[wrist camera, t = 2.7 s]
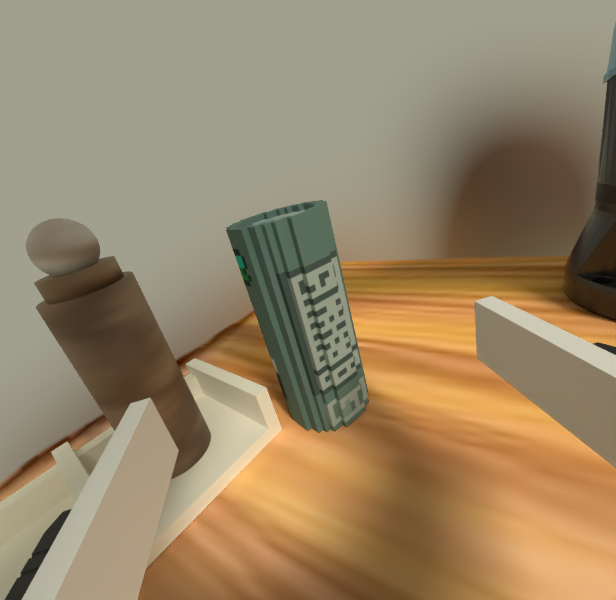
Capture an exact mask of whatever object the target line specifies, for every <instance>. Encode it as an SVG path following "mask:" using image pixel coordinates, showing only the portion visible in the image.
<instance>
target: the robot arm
mask: <svg viewBox="0 0 616 600" xmlns="http://www.w3.org/2000/svg"><path fill="white" fill-rule="evenodd" d="M605 82H607V92H606V102H605V111H604V120H603V130H602V139H601V148H600V158H599V167H598V176H597V187H596V196H595V204H594V208H593V210H592V212H591V215H590V216H589V219H588V220H587V222H586V224H585V226H584V228H583V230H582V232H581V234H580V236H579V238H578V240H577V243H576V244H575V247H574V249H573V250H572V252H571V254H570V256H569V258H568V260H567V263H566V266H565V274H564V290H565V292H566V294H567V295H568V296H569V297H570V298H571V299H572V300H573V301H574V302H576V303H577V304H579V305H581V306H582V307H584V308H586V309H588V310H591V311H593V312H595V313H598V314H601V315H604V316H606V317H610V318H613V319H616V24H615V27H614V31H613V38H612V44H611V51H610V58H609V64H608V70H607V73H606V74H605V75H604V77H603V83H605ZM475 323H476V344H477V359H479V360H480V361H481V362H482V363H484V364H485V365H486V366H488V367H489V368H490V369H491V370H493V371H494V372H495V373H496V374H498V375H499V376H500V377H501V378H503V379H504V380H505V381H507V382H508V383H509V384H510V385H512V386H513V387H514V388H515V389H517V390H518V391H519V392H520V393H522V394H523V395H524V396H525V397H527V398H528V399H529V400H531V401H532V402H533V403H534V404H536V405H537V406H538V407H539V408H541V409H542V410H543V411H544V412H546V413H547V414H548V415H549V416H551V417H552V418H553V419H555V420H556V421H557V422H558V423H560V424H561V425H562V426H563V427H565V428H566V429H567V430H568V431H570V432H571V433H572V434H573V435H575V436H576V437H577V438H579V439H580V440H581V441H582V442H584V443H585V444H586V445H587V446H589V447H590V448H591V449H592V450H594V451H595V452H596V453H597V454H599V455H600V456H601V457H603V458H604V459H605V460H606V461H608V462H609V463H610V464H611V465H613V466H614V467H615V468H616V347H613V346H610V345H606V344H602V343H598V342H597V343H594V344H591V343H589V342H587V341H585V340H583V339H581V338H579V337H577V336H575V335H573V334H571V333H568V332H566V331H564V330H562V329H560V328H558V327H556V326H554V325H552V324H550V323H548V322H546V321H543V320H541V319H539V318H537V317H535V316H533V315H531V314H529V313H527V312H525V311H523V310H521V309H518V308H516V307H514V306H512V305H510V304H508V303H506V302H504V301H502V300H500V299H498V298H496V297H493V296H490V297H487V298H483V299H480V300H477V301H475ZM178 451H179V450H178V448H177V446H176V445H175V443H174V441H173V439H172V437H171V435H170V433H169V431H168V429H167V428H166V426H165V424H164V422H163V420H162V418H161V416H160V414H159V413H158V411H157V409H156V407H155V405H154V403H153V401H152V399H151V398H147V399H144V400H141V401H137V402H134V403H130V405H129V407H128V409H127V410H126V412H125V414H124V416H123V418H122V419H121V421H120V423H119V425H118V427H117V428H116V430H115V432H114V434H113V436H112V437H111V439H110V441H109V443H108V445H107V446H106V448H105V450H104V452H103V454H102V456H101V457H100V459H99V461H98V463H97V465H96V466H95V468H94V470H93V472H92V474H91V475H90V477H89V479H88V481H87V483H86V484H85V486H84V488H83V490H82V492H81V493H80V495H79V497H78V499H77V501H76V502H75V504H74V506H73V508H72V509H69V510H66V511H63V512H62V513H61V514H60V515H59V516H58V518H57V519H56V520H55V521H54V522H53V523H52V524H51V526H50V527H49V528H48V529H47V530H46V531H45V532H44V534H43V536H42V537H41V539H40V541H39V542H38V544H37V546H36V547H35V549H34V551H33V553H32V557H31V558H29V559H28V561H27V563H26V564H25V566H24V568H23V569H22V571H21V576H20V577H19V578H17V579H16V581H15V583H14V584H13V586H12V588H11V589H10V591H9V593H8V595H7V596H6V598H5V600H137V599H138V596H139V592H140V588H141V585H142V581H143V578H144V574H145V570H146V567H147V563H148V560H149V556H150V552H151V549H152V545H153V542H154V538H155V534H156V531H157V527H158V524H159V520H160V516H161V513H162V509H163V506H164V502H165V498H166V495H167V491H168V487H169V484H170V480H171V477H172V473H173V469H174V466H175V462H176V459H177V455H178Z"/></svg>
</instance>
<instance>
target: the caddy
mask: <svg viewBox="0 0 616 600" xmlns="http://www.w3.org/2000/svg"><path fill="white" fill-rule="evenodd" d="M185 365H186V367H187V369H188V371H189V374H188V375H186V376H185V377H184V379H185V381H186V383H187V385H188V387H189V389H190V391H191V393H192V395H193V397H194V399H195V401H196V403H197V405H198V408H199V410H200V412H201V414H202V416H203V418H204V420H205V422H206V424H207V426H208V428H209V430H210V432H211V441H210V444H209V447H208V449H207V451H206V452H205V454H204V455H203V456H202V458H201V459H200V460H199V461H198V462H197V463H196V464H195V465H194V466H193V467H191V468H190V469H189V470H188V471H186V472H185V473H183V474H181V475H179V476H177V477H175V478H173V479H171V480H170V484H169V487H168V491H167V495H166V498H165V502H164V506H163V509H162V513H161V516H160V520H159V524H158V527H157V531H156V534H155V538H154V542H153V545H152V549H151V552H150V556H149V560H148V563H147V567H148V566H149V565H150V564H151V563H152V562H153V561H154V560H155V559H156V558H157V557H158V556H159V555H160V554H161V553H162V552H163V551H164V550H165V549H166V548H167V547H168V546H169V545H170V544H171V543H172V542H173V541H174V540H175V539H176V538H177V537H178V536H179V535H180V533H181V532H182V531H183V530H184V529H185V528H186V527H187V526H188V525H189V524H190V523H191V522H192V521H193V520H194V519H195V518H196V517H197V516H198V515H199V514H200V513H201V512H202V511H203V510H204V509H205V508H206V507H207V506H208V505H209V504H210V503H211V502H212V501H213V500H214V499H215V498H216V497H217V496H218V494H219V493H220V492H221V491H222V490H223V489H224V488H225V487H226V486H227V485H228V484H229V483H230V482H231V481H232V480H233V479H234V478H235V477H236V476H237V475H238V474H239V473H240V472H241V471H242V470H243V469H244V468H245V467H246V466H247V465H248V464H249V463H250V462H251V461H252V460H253V459H254V458H255V456H256V455H257V454H258V453H259V452H260V451H261V450H262V449H263V448H264V447H265V446H266V445H267V444H268V443H269V442H270V441H271V440H272V439H273V438H274V437H275V436H276V435H277V434H278V433H279V432H280V431H281V430H282V428H281V426H280V423H279V420H278V418H277V415H276V412H275V410H274V407H273V404H272V401H271V399H270V396H269V393H268V391H267V388H266V387H264V386H262V385H259V384H257V383H254V382H252V381H250V380H247V379H245V378H242V377H240V376H237V375H235V374H233V373H230V372H228V371H225V370H223V369H220V368H218V367H216V366H213V365H211V364H208V363H206V362H203V361H201V360H199V359H196V358H194V359H193V360H191V361H190V362H188V363H187V364H185ZM114 432H115V431H114V429H113V427H110V428H109V429H107V430H106V431H104V432H103V433H101V434H100V435H98V436H97V437H95V438H94V439H92V440H91V441H89V442H88V443H87V444H85V445H84V446H82V447H81V448H79V449H78V450H76V451H74V450H73V449H72V447H71V446H70V445H69V443H68V442H66V443H64V444H63V445H61V446H60V447H58V448H56V449H55V450H53V451H52V452H51V453H52V455H53V457H54V459H55V461H56V463H57V464H56V465H54V466H53V467H51V468H50V469H48V470H47V471H45V472H44V473H42V474H41V475H40V476H38V477H37V478H35V479H34V480H32V481H31V482H29V483H28V484H26V485H25V486H23V487H22V488H20V489H19V490H17V491H16V492H15V493H13V494H12V495H10V496H9V497H7V498H6V499H4V500H3V501H1V502H0V600H5V598H6V596H7V595H8V593H9V591H10V589H11V588H12V586H13V584H14V583H15V581H16V579H17V578H19V577H20V576H21V571H22V569H23V568H24V566H25V564H26V563H27V561H28V559H29V558H31V557H32V553H33V551H34V549H35V547H36V546H37V544H38V542H39V541H40V539H41V537H42V536H43V534H44V532H45V531H46V530H47V529H48V528H49V527H50V526H51V524H52V523H53V522H54V521H55V520H56V519H57V518H58V516H59V515H60V514H61V513H62V512H63V511H66V510H69V509H72V508H73V506H74V504H75V502H76V501H77V499H78V497H79V495H80V493H81V492H82V490H83V488H84V486H85V484H86V483H87V481H88V479H89V477H90V475H91V474H92V472H93V470H94V468H95V466H96V465H97V463H98V461H99V459H100V457H101V456H102V454H103V452H104V450H105V448H106V446H107V445H108V443H109V441H110V439H111V437H112V436H113V434H114ZM147 567H146V568H147Z"/></svg>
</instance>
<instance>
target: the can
mask: <svg viewBox="0 0 616 600" xmlns="http://www.w3.org/2000/svg"><path fill="white" fill-rule="evenodd" d="M226 231H227V233H228V237H229V239H230V242H231V245H232V248H233V251H234V254H235V257H236V259H237V262H238V265H239V268H240V271H241V274H242V276H243V279H244V282H245V285H246V288H247V291H248V294H249V297H250V300H251V302H252V305H253V308H254V311H255V314H256V317H257V320H258V323H259V325H260V328H261V331H262V334H263V337H264V340H265V343H266V345H267V348H268V351H269V354H270V357H271V360H272V363H273V366H274V368H275V371H276V374H277V377H278V380H279V383H280V386H281V388H282V391H283V394H284V397H285V400H286V403H287V406H288V409H289V411H290V414H291V417H292V419H293V420H295V421H296V422H297V423H298V424H300V425H301V426H302V427H303V428H305V429H306V430H307V431H308V430H310V429H311V428H313V429H314V430H316V431H317V432H318V433H320V432H321V431H322V430H324V431H326V432H328V431H329V430H330V429H332V430H333V431H336V430H337V429H338V428H339V427H340V426H342V425H344V426H346V427H347V426H348V425H350V424H351V423H352V422H353V421H354V420H355V419H356V418H358V417H359V416H360V415H361V414H362V413H363V412H364V411H365V410H366V409H365V405H366V404H367V403H368V402H369V400H368V389H367V384H366V380H365V375H364V371H363V366H362V362H361V357H360V353H359V348H358V344H357V339H356V334H355V330H354V325H353V321H352V316H351V312H350V307H349V303H348V298H347V293H346V289H345V284H344V280H343V275H342V271H341V266H340V262H339V257H338V253H337V248H336V244H335V239H334V234H333V230H332V225H331V221H330V216H329V212H328V207H327V203H326V201H322V200H321V201H312V202H304V203H301V204H296V205H291V206H288V207H283V208H279V209H275V210H272V211H269V212H264V213H261V214H258V215H255V216H252V217H249V218H247V219H244V220H241V221H240V222H237V223H234V224H233V225H231V226H230V227H227V230H226Z"/></svg>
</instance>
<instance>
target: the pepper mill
mask: <svg viewBox="0 0 616 600" xmlns="http://www.w3.org/2000/svg"><path fill="white" fill-rule="evenodd" d="M26 249H27V253H28V256H29V258H30V259H31V261H32V262H33V264H34V265H35V266H36V267H37V268H39V269H40V270H42V271H43V272H45V273H47V274H49V276H47V277H44V278H42V279H40V280H38V281H37V282H35V283H34V284H35V285H36V287H37V289H38V290H39V292H40V293H41V295H42V297H43V298H44V301H43V302H41V303H40V304H38V305H37V306H36V309H37V310H38V312H39V313H40V315H41V317H42V318H43V320H44V321H45V323H46V324H47V326H48V328H49V329H50V330H51V332H52V334H53V335H54V337H55V338H56V340H57V341H58V343H59V345H60V346H61V348H62V349H63V351H64V352H65V354H66V356H67V357H68V359H69V360H70V362H71V363H72V365H73V367H74V368H75V370H76V371H77V373H78V374H79V376H80V377H81V379H82V380H83V382H84V384H85V385H86V387H87V388H88V390H89V391H90V393H91V395H92V396H93V398H94V399H95V401H96V402H97V404H98V406H99V407H100V409H101V410H102V412H103V413H104V415H105V416H106V418H107V420H108V421H109V423H110V424H111V426H112V427H113V429H114V431H115V430H116V428H117V427H118V425H119V423H120V421H121V419H122V418H123V416H124V414H125V412H126V410H127V409H128V407H129V405H130V403H134V402H137V401H141V400H144V399H147V398H151V399H152V401H153V403H154V405H155V407H156V409H157V411H158V413H159V414H160V416H161V418H162V420H163V422H164V424H165V426H166V428H167V429H168V431H169V433H170V435H171V437H172V439H173V441H174V443H175V445H176V446H177V448H178V450H179V451H178V455H177V459H176V462H175V466H174V469H173V473H172V477H171V479H173V478H175V477H177V476H179V475H181V474H183V473H185V472H186V471H188V470H189V469H190V468H191V467H193V466H194V465H195V464H196V463H197V462H198V461H199V460H200V459H201V458H202V456H203V455H204V454H205V452H206V451H207V449H208V447H209V444H210V441H211V432H210V430H209V428H208V426H207V424H206V422H205V420H204V418H203V416H202V414H201V412H200V410H199V408H198V405H197V403H196V401H195V399H194V397H193V395H192V393H191V391H190V389H189V387H188V385H187V383H186V381H185V379H184V377H183V375H182V373H181V371H180V369H179V367H178V364H177V362H176V360H175V358H174V357H173V354H172V352H171V350H170V348H169V346H168V344H167V342H166V340H165V338H164V336H163V334H162V332H161V330H160V328H159V326H158V323H157V321H156V319H155V317H154V315H153V313H152V311H151V309H150V307H149V305H148V303H147V301H146V299H145V297H144V295H143V293H142V291H141V289H140V287H139V285H138V282H137V281H136V278H135V276H134V274H133V273H132V272H122V271H121V269H120V267H119V265H118V263H117V261H116V259H115V257H113V256H112V257H105V258H101V259H99V256H100V246H99V243H98V240H97V238H96V237H95V235H94V234H93V233H92V232H91V231H90V230H89V229H88V228H87V227H86V226H84V225H82V224H80V223H78V222H76V221H73V220H69V219H60V218H58V219H50V220H47V221H44V222H42V223H40V224H38V225H37V226H35V227H34V228H33V229H32V231H31V232H30V233H29V235H28V238H27V242H26Z"/></svg>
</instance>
